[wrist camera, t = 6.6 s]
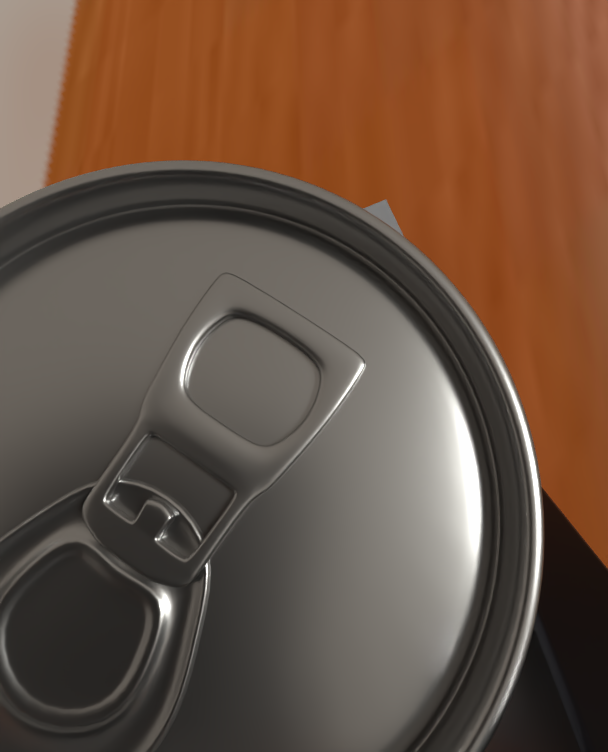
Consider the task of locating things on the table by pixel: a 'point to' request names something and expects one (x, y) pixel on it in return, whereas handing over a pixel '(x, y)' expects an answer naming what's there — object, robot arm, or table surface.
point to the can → (251, 476)
